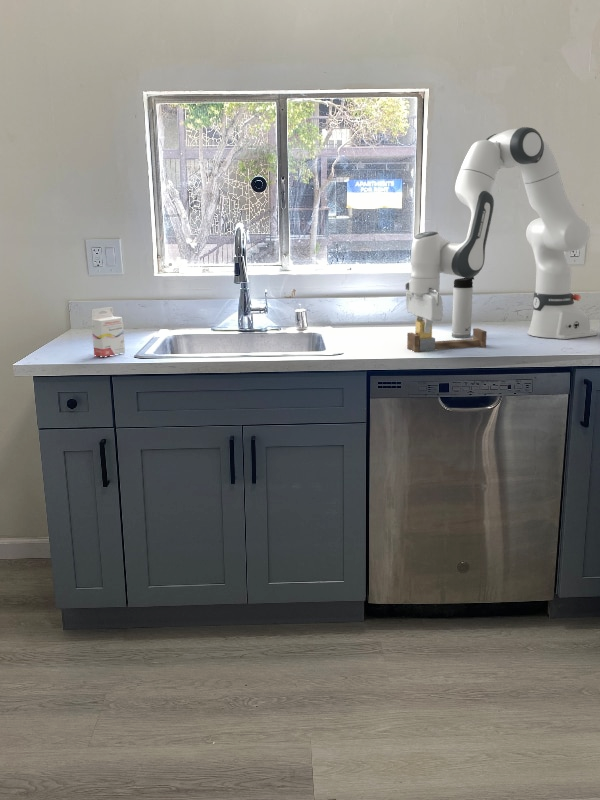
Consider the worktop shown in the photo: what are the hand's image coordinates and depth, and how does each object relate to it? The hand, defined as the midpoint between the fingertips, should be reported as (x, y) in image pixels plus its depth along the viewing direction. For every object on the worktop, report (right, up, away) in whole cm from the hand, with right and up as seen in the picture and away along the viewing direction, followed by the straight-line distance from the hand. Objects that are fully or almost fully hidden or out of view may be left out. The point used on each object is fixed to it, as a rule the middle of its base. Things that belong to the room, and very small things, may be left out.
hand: (423, 331), depth 227 cm
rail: (+8, -5, +3) cm, 10 cm away
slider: (0, -6, +2) cm, 6 cm away
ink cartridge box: (-98, -7, +2) cm, 98 cm away
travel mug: (+17, 0, +21) cm, 27 cm away
